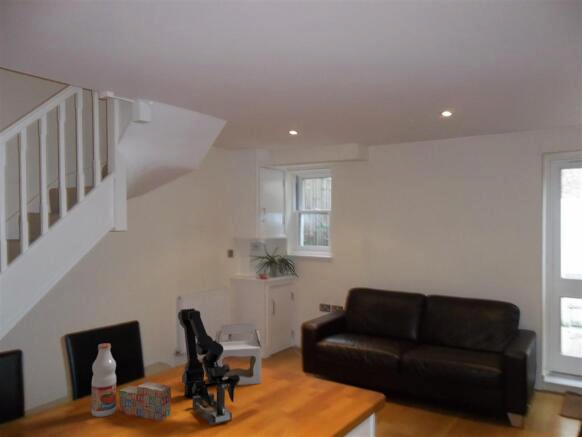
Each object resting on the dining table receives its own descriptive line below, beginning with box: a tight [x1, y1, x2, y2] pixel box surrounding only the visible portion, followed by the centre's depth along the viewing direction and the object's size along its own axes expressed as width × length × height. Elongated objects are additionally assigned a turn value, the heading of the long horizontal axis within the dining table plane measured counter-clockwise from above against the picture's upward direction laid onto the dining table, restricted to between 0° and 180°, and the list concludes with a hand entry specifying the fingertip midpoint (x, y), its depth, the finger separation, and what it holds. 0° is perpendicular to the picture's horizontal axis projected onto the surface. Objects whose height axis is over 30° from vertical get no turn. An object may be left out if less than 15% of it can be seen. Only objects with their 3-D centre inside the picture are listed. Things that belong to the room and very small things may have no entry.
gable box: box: [214, 323, 262, 387], centre depth 233 cm, size 22×13×28 cm, turn 103°
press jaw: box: [211, 384, 230, 422], centre depth 184 cm, size 5×6×13 cm
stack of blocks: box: [118, 381, 172, 422], centre depth 192 cm, size 21×6×12 cm, turn 67°
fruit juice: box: [90, 342, 117, 418], centre depth 193 cm, size 9×9×28 cm
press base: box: [192, 392, 233, 426], centre depth 192 cm, size 21×9×4 cm, turn 31°
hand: (221, 403), depth 183 cm, fingers open, 9 cm apart
